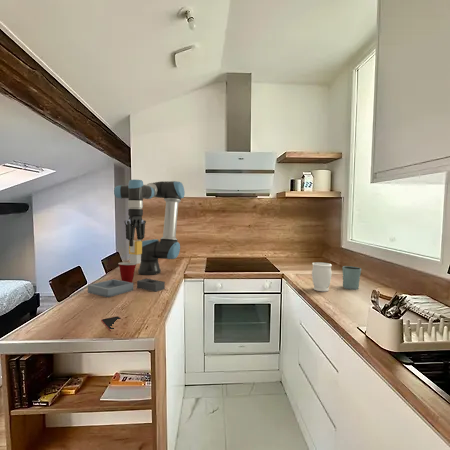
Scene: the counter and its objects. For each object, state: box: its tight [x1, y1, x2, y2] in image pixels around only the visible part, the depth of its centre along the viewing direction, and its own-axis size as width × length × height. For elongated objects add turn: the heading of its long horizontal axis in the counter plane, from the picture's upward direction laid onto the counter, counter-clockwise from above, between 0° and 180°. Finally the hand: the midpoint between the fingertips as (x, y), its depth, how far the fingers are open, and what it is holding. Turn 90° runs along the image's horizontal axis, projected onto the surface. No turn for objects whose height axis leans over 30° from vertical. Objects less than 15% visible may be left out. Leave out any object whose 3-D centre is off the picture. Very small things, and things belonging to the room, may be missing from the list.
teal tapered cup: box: [341, 265, 362, 291], centre depth 170 cm, size 10×10×12 cm
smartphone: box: [100, 316, 122, 332], centre depth 110 cm, size 7×1×14 cm
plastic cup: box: [117, 261, 137, 283], centre depth 172 cm, size 11×11×12 cm
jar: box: [311, 261, 333, 292], centre depth 164 cm, size 11×10×15 cm
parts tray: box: [87, 278, 134, 298], centre depth 153 cm, size 16×16×4 cm
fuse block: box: [136, 278, 166, 292], centre depth 160 cm, size 7×14×4 cm, turn 60°
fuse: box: [128, 240, 143, 265], centre depth 156 cm, size 4×6×12 cm, turn 61°
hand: (135, 251), depth 156 cm, fingers closed on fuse, 4 cm apart
